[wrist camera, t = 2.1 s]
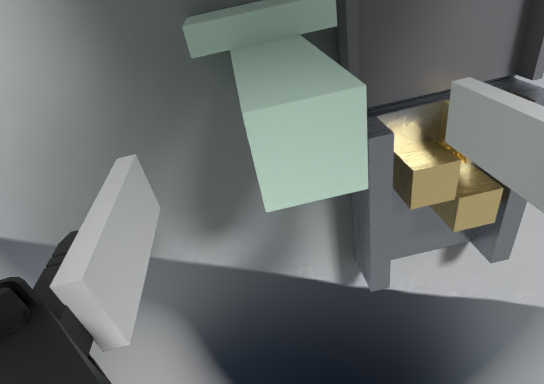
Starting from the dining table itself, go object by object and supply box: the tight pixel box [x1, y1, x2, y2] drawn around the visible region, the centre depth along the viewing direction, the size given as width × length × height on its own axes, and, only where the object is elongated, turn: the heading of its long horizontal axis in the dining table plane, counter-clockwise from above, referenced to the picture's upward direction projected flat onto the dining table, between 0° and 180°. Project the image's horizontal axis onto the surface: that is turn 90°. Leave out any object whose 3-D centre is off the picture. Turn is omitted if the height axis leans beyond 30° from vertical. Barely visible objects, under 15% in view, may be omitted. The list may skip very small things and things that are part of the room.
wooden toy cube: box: [393, 139, 461, 210], centre depth 30 cm, size 4×4×4 cm
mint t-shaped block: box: [182, 0, 368, 213], centre depth 19 cm, size 6×9×16 cm
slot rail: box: [351, 77, 544, 292], centre depth 33 cm, size 18×15×5 cm
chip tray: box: [336, 0, 544, 108], centre depth 25 cm, size 12×16×2 cm
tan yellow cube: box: [431, 166, 503, 232], centre depth 32 cm, size 4×4×4 cm
